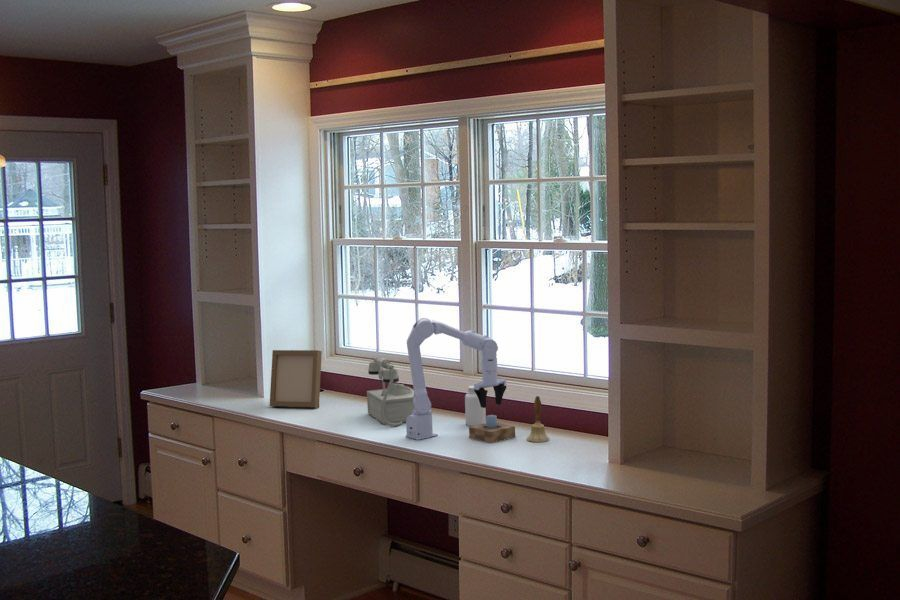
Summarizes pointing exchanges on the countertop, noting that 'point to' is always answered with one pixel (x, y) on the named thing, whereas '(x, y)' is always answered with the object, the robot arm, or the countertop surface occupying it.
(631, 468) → the countertop surface
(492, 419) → the peg
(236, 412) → the countertop surface
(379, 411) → the grey machine
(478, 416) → the pill bottle
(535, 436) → the hand bell
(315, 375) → the photo frame
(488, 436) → the socket block
